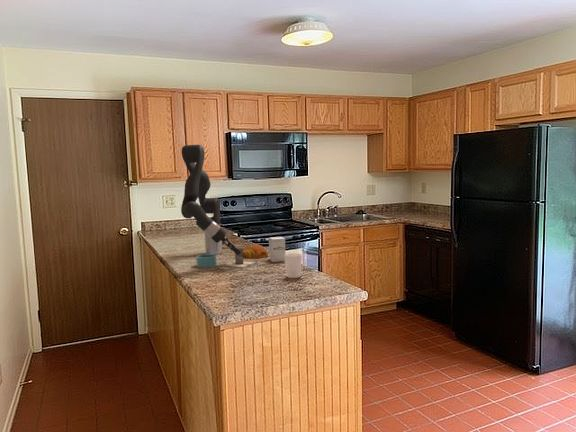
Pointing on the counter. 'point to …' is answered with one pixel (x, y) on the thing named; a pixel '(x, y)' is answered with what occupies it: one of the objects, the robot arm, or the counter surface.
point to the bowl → (206, 260)
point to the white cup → (293, 265)
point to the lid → (239, 261)
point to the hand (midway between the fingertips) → (238, 252)
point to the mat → (239, 268)
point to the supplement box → (276, 249)
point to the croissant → (254, 252)
